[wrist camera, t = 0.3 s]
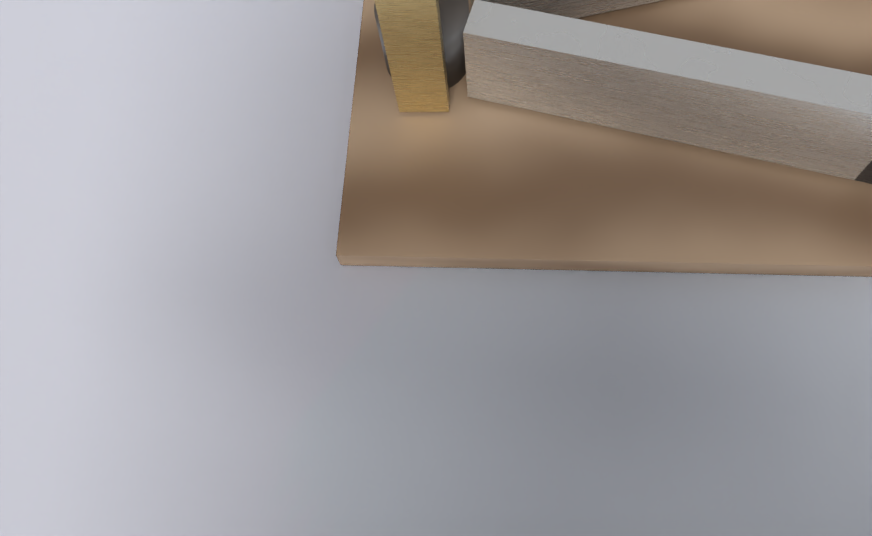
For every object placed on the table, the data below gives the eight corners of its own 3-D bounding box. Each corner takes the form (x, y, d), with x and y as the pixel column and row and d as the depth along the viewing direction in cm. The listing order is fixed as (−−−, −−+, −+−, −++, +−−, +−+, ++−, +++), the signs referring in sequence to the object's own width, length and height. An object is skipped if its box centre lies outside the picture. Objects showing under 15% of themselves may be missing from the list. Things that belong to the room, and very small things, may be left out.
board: (1052, 280, 28) (1140, 233, 24) (341, 264, 31) (317, 219, 27) (959, -101, 35) (1016, -187, 31) (378, -89, 37) (363, -167, 33)
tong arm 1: (467, 96, 32) (463, 32, 28) (477, 66, 32) (474, -1, 28) (941, 198, 28) (1007, 141, 25) (944, 163, 29) (1010, 102, 25)
